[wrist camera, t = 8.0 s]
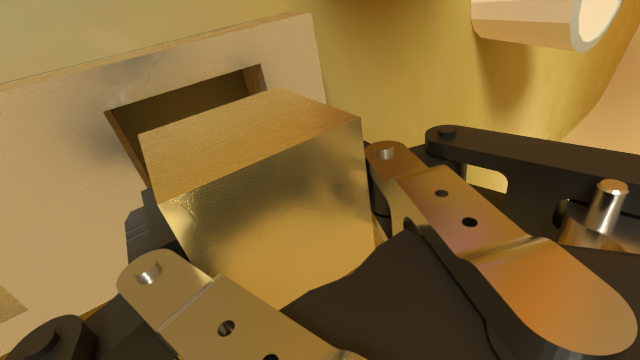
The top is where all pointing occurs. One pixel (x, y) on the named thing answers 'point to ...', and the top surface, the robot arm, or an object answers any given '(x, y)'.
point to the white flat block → (108, 158)
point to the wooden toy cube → (265, 192)
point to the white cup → (545, 21)
